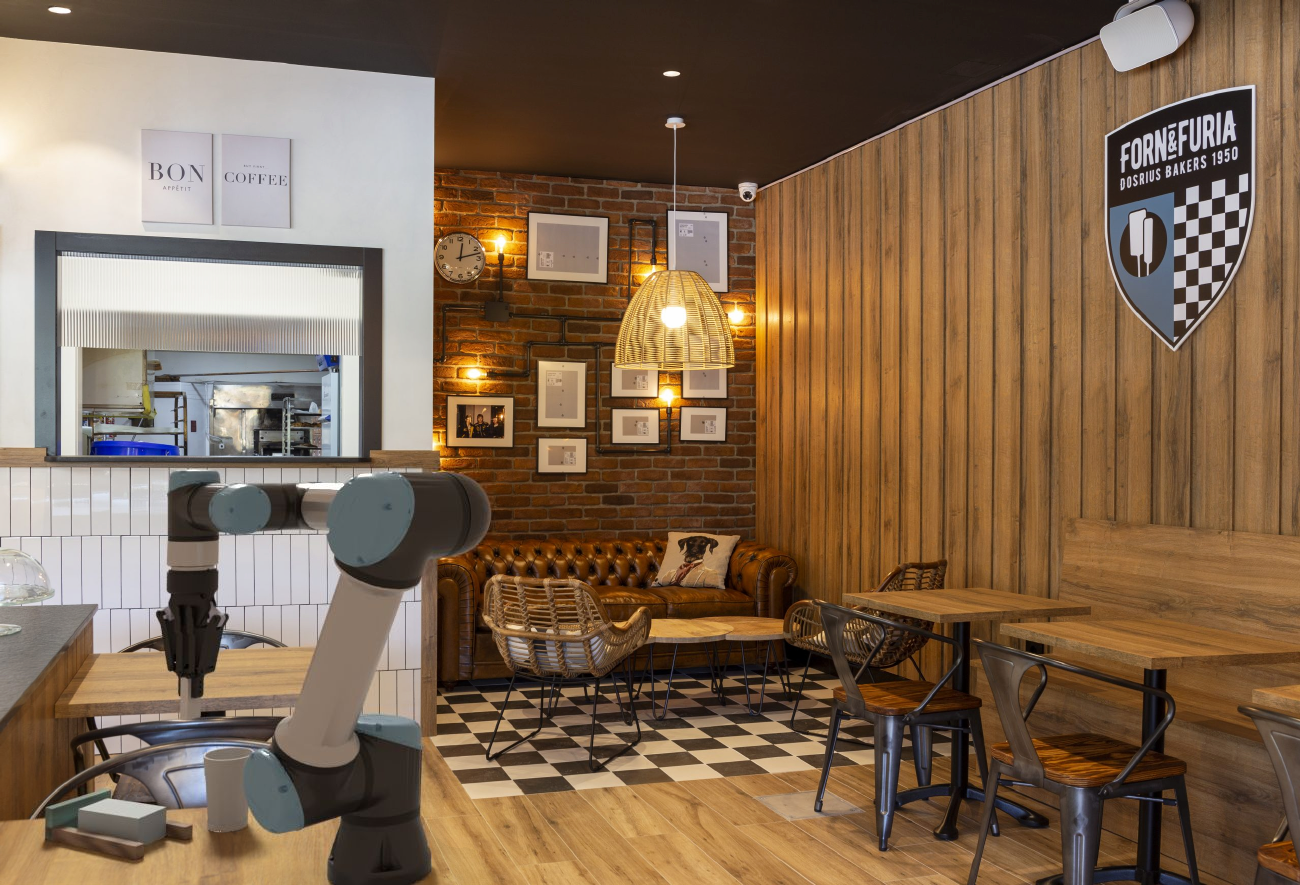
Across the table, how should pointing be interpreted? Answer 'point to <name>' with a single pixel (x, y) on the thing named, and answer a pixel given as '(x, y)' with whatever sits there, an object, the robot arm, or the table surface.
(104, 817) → the block
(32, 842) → the table surface
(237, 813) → the cup
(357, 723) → the robot arm
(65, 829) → the brown green u-shaped frame
